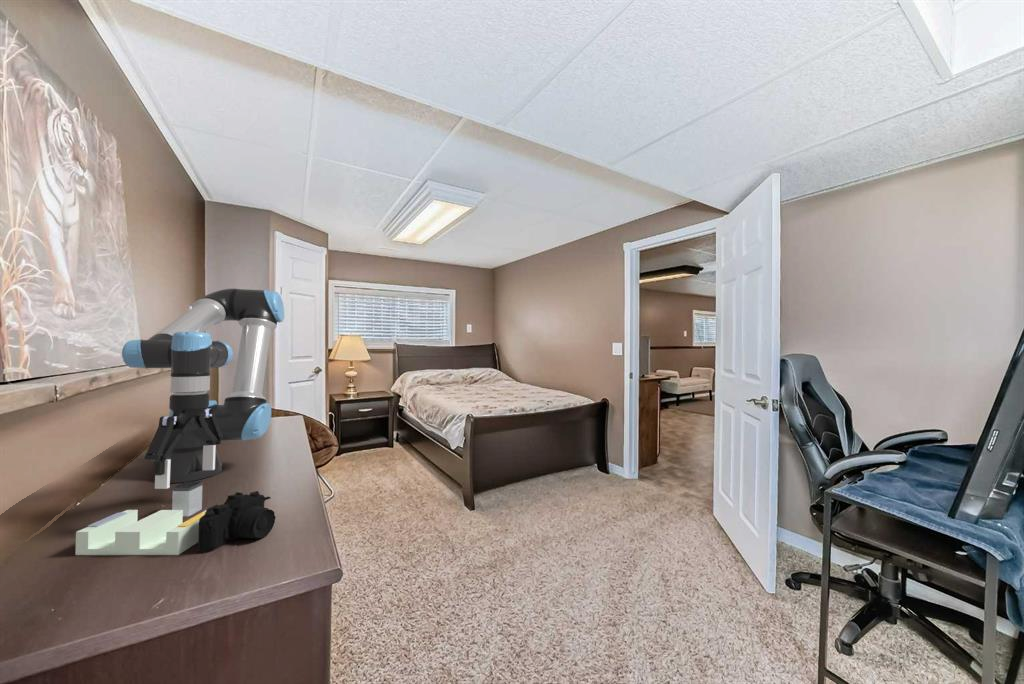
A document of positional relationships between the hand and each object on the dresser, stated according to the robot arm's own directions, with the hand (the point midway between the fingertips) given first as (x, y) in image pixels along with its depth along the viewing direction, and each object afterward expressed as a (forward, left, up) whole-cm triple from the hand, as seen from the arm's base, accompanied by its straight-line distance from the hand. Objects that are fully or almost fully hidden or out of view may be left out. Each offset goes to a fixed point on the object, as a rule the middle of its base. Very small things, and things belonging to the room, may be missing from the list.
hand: (187, 478), depth 93 cm
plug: (0, 0, -9) cm, 9 cm away
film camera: (+11, +22, -9) cm, 26 cm away
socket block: (+14, +4, -9) cm, 17 cm away
